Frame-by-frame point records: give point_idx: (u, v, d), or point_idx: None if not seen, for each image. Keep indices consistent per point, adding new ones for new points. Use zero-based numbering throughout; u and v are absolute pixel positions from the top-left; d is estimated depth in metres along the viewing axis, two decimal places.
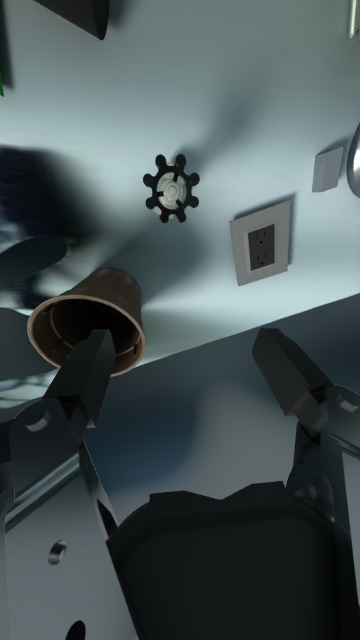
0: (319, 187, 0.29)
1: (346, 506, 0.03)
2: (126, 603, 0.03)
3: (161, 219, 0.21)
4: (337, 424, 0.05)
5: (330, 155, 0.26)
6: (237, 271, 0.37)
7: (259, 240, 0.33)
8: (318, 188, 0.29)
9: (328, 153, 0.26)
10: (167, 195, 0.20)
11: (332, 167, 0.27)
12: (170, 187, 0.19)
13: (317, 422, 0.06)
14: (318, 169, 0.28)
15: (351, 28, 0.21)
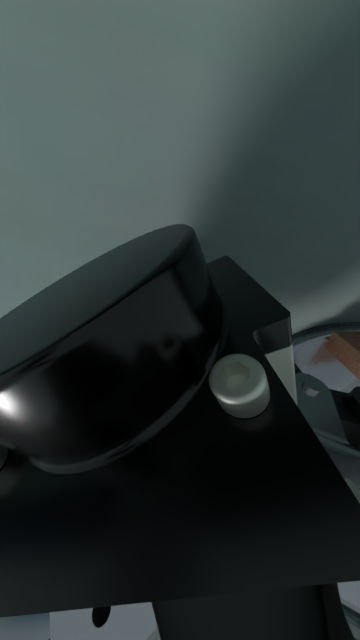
0: None
1: None
2: None
3: None
4: (304, 412, 0.05)
5: None
6: None
7: None
8: None
9: None
10: None
11: None
12: None
13: None
14: None
15: None
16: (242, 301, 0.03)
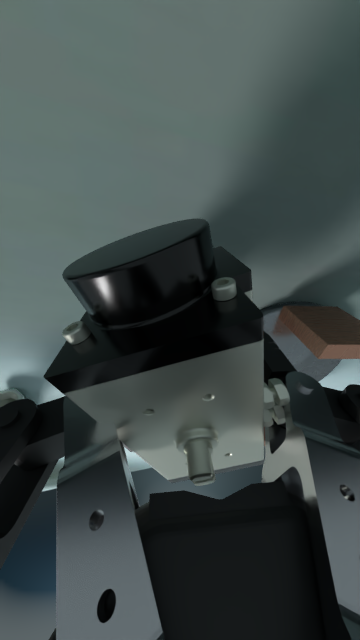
0: None
1: (315, 497, 0.04)
2: (126, 603, 0.03)
3: None
4: (298, 410, 0.05)
5: None
6: (123, 444, 0.33)
7: None
8: None
9: None
10: None
11: None
12: None
13: None
14: None
15: None
16: (228, 267, 0.06)
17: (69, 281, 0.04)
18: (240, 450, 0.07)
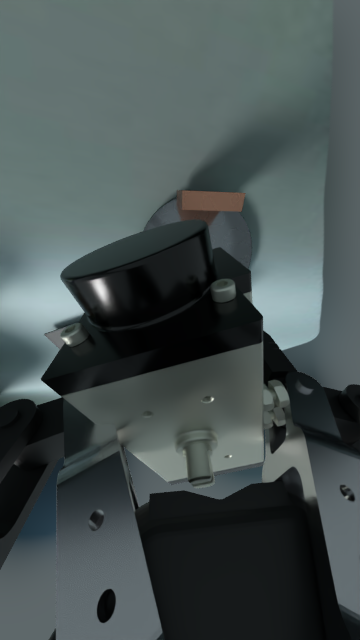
0: None
1: (315, 497, 0.04)
2: (126, 603, 0.03)
3: None
4: (298, 410, 0.05)
5: None
6: None
7: None
8: None
9: None
10: None
11: None
12: None
13: None
14: None
15: None
16: (227, 268, 0.05)
17: (67, 283, 0.04)
18: (240, 452, 0.07)
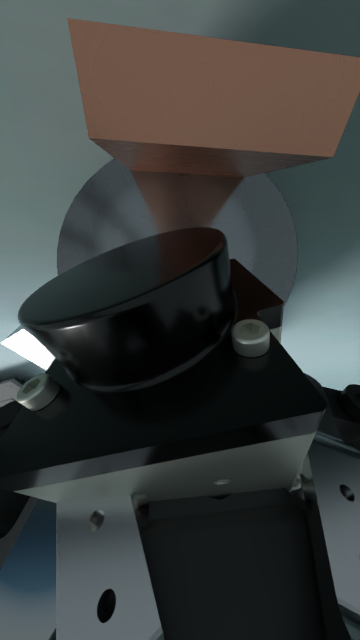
0: None
1: (315, 496, 0.04)
2: (126, 603, 0.03)
3: None
4: None
5: (13, 343, 0.14)
6: None
7: None
8: None
9: (6, 342, 0.13)
10: None
11: (39, 353, 0.14)
12: None
13: None
14: None
15: None
16: (248, 292, 0.04)
17: (22, 325, 0.03)
18: None
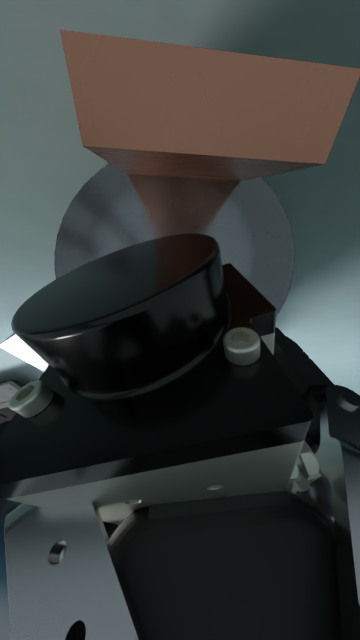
0: None
1: (346, 506, 0.03)
2: (126, 603, 0.03)
3: None
4: (337, 424, 0.05)
5: (11, 346, 0.14)
6: None
7: (0, 421, 0.20)
8: None
9: (4, 345, 0.14)
10: None
11: (37, 355, 0.14)
12: None
13: (317, 422, 0.06)
14: None
15: None
16: (242, 298, 0.04)
17: (15, 333, 0.03)
18: None
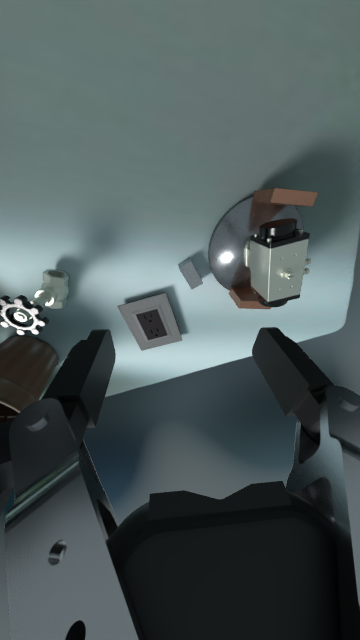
0: (189, 285, 0.35)
1: (346, 506, 0.03)
2: (126, 603, 0.03)
3: (18, 333, 0.26)
4: (337, 424, 0.05)
5: (183, 268, 0.32)
6: (136, 340, 0.42)
7: (147, 319, 0.38)
8: (190, 285, 0.35)
9: (181, 268, 0.32)
10: (17, 319, 0.25)
11: (190, 274, 0.33)
12: (16, 316, 0.25)
13: (317, 422, 0.06)
14: None
15: (245, 263, 0.33)
16: (297, 230, 0.23)
17: (272, 228, 0.22)
18: (295, 284, 0.24)
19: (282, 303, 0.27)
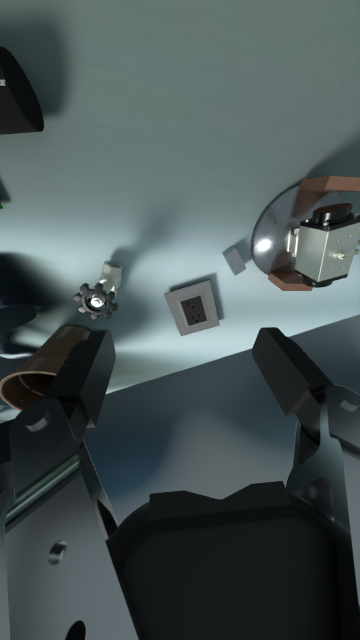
0: (233, 271, 0.37)
1: (346, 506, 0.03)
2: (126, 603, 0.03)
3: (92, 317, 0.29)
4: (337, 424, 0.05)
5: (229, 256, 0.35)
6: (177, 326, 0.45)
7: (190, 306, 0.41)
8: (233, 272, 0.38)
9: (227, 255, 0.35)
10: (93, 304, 0.28)
11: (235, 261, 0.36)
12: (94, 301, 0.28)
13: (317, 422, 0.06)
14: (227, 261, 0.37)
15: (287, 249, 0.35)
16: None
17: (329, 213, 0.24)
18: (345, 264, 0.27)
19: (329, 283, 0.30)
